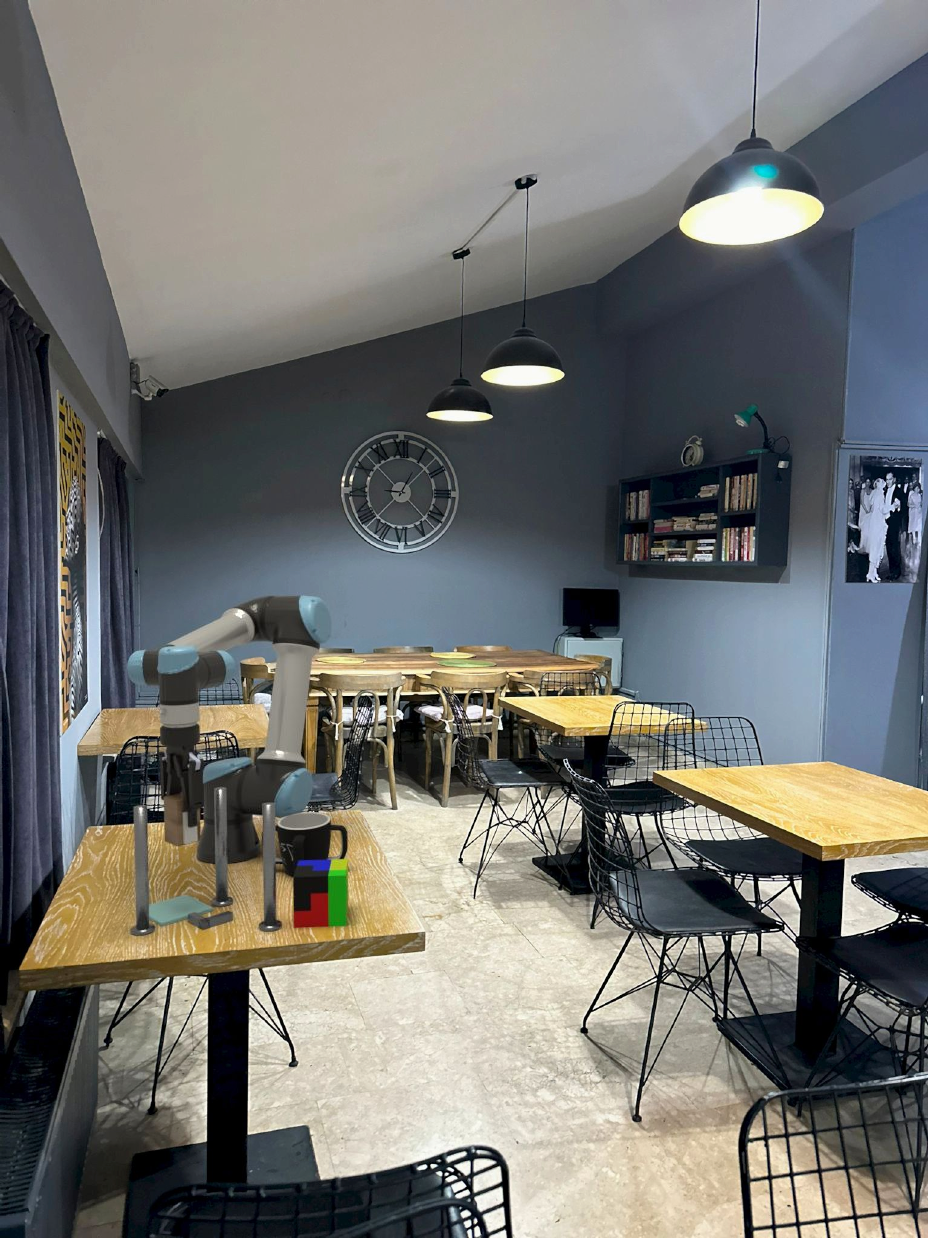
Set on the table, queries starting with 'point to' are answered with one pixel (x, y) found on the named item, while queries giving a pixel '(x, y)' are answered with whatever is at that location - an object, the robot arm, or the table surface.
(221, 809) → the post
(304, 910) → the puzzle toy
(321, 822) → the mug
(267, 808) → the post
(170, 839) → the walnut block
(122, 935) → the table surface
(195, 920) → the gray corner bracket
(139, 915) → the post
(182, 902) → the pad
